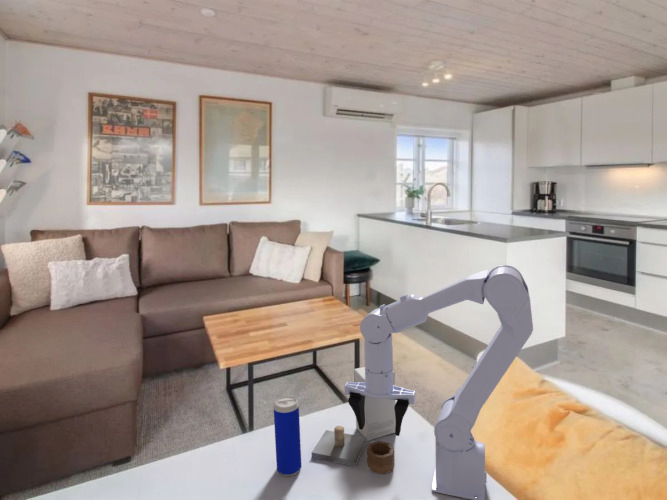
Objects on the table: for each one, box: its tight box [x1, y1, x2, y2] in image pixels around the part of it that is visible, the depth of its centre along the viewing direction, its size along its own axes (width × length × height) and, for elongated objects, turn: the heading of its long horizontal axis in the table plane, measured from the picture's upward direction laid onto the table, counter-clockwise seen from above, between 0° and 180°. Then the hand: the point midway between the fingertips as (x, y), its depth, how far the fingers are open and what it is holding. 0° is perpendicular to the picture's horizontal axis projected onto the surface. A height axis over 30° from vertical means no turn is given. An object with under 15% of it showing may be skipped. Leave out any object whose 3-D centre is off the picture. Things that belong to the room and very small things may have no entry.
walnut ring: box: [366, 440, 395, 475], centre depth 85 cm, size 5×5×4 cm
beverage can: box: [273, 395, 302, 477], centre depth 84 cm, size 5×5×15 cm
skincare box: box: [353, 366, 396, 442], centre depth 96 cm, size 8×7×16 cm
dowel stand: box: [311, 425, 368, 467], centre depth 90 cm, size 10×9×5 cm
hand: (379, 430), depth 84 cm, fingers open, 7 cm apart
